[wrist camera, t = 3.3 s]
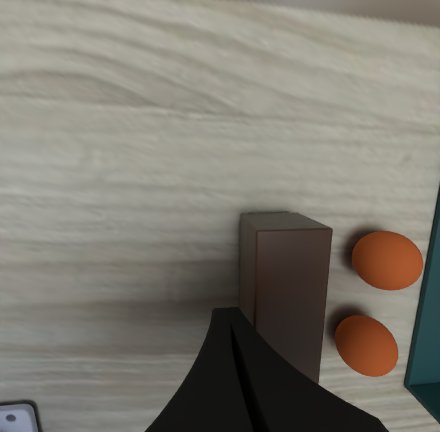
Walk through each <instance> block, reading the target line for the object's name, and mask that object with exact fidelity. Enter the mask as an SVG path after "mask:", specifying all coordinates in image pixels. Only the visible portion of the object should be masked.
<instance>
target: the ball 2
mask: <svg viewBox="0 0 440 432" xmlns="http://www.w3.org/2000/svg"><path fill="white" fill-rule="evenodd" d="M335 344H336V348H337V350H338V352H339V355H340V356H341V358H342V359H343V360H344V362H345V363H346V364H347V365H348V366H349V367H351V368H352V369H353V370H355V371H357V372H358V373H360V374H363V375H366V376H373V377H377V376H383V375H385V374H387V373H389V372H390V371H391V370H392V369H393V368H394V367H395V365H396V363H397V360H398V348H397V344H396V341H395V339H394V337H393V335H392V334H391V333H390V331H389V330H388V329H387V328H386V327H385V326H384V325H383V324H382V323H380V322H379V321H377V320H375V319H373V318H371V317H367V316H362V315H355V316H350V317H348V318H346V319H344V320H343V321H342V322H341V323H340V324H339V325H338V327H337V329H336V333H335Z"/></svg>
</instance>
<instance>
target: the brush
mask: <svg viewBox="0 0 440 432" xmlns="http://www.w3.org/2000/svg"><path fill="white" fill-rule="evenodd" d="M331 241H332V228H330V227H328V226H326V225H324V224H321V223H319V222H317V221H315V220H312V219H310V218H308V217H306V216H304V215H301V214H299V213H289V212H281V213H271V214H256V213H247V214H242V215H241V220H240V239H239V309H240V310H241V311H242V313H243V314H244V315H245V317H246V318H247V319H248V321H249V322H250V323H251V325H252V326H253V327H254V328H255V329H256V331H257V332H258V333H259V334H260V335H261V336H262V337H263V338H264V340H265V341H266V342H267V343H268V344H269V345H270V346H271V347H272V348H273V349H274V350H275V351H276V352H277V353H278V354H279V355H280V356H282V357H283V358H284V359H285V360H286V361H287V362H289V363H290V364H291V365H292V366H293V367H295V368H296V369H297V370H298V371H300V372H301V373H303V374H304V375H305V376H307V377H308V378H309V379H311V380H312V381H314V382H315V383H317V384H318V383H319V372H320V361H321V350H322V339H323V328H324V318H325V307H326V296H327V285H328V274H329V263H330V252H331Z"/></svg>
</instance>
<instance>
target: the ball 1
mask: <svg viewBox="0 0 440 432" xmlns="http://www.w3.org/2000/svg"><path fill="white" fill-rule="evenodd" d="M352 263H353V266H354V269H355V271H356V272H357V274H358V275H359V276H360V277H361V278H362V279H363V280H364V281H365V282H366V283H368V284H370V285H371V286H374V287H376V288H379V289H383V290H400V289H403V288H406V287H408V286H410V285H412V284H413V283H414V282H415V281H416V280H417V279H418V278H419V277H420V275H421V273H422V269H423V258H422V255H421V253H420V251H419V249H418V248H417V246H416V245H415V244H414V243H413V242H412V241H411V240H409V239H408V238H406V237H405V236H403V235H400V234H398V233H394V232H389V231H379V232H374V233H370V234H368V235H366V236H364V237H363V238H361V239H360V240H359V241H358V242H357V244H356V245H355V247H354V249H353V252H352Z"/></svg>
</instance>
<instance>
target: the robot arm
mask: <svg viewBox="0 0 440 432" xmlns="http://www.w3.org/2000/svg"><path fill="white" fill-rule="evenodd" d="M0 432H38V428H37V423H36V418H35V414H34V410H33V407H32V406H30V405H28V404H17V405H5V406H0ZM145 432H389V431H388V430H387V429H386V428H385V426H384V425H383V424H382V423H381V421H380V420H379V419H378V418H376V417H374V416H372V415H370V414H369V413H367V412H365V411H363V410H361V409H359V408H357V407H355V406H353V405H351V404H350V403H348V402H346V401H344V400H342V399H341V398H339V397H337V396H336V395H334V394H332V393H331V392H329V391H327V390H326V389H324V388H323V387H321V386H320V385H318V384H317V383H315V382H314V381H312V380H311V379H309V378H308V377H307V376H305V375H304V374H303V373H301V372H300V371H298V370H297V369H296V368H295V367H293V366H292V365H291V364H290V363H289V362H287V361H286V360H285V359H284V358H283V357H282V356H280V355H279V354H278V353H277V352H276V351H275V350H274V349H273V348H272V347H271V346H270V345H269V344H268V343H267V342H266V341H265V340H264V338H263V337H262V336H261V335H260V334H259V333H258V332H257V331H256V329H255V328H254V327H253V326H252V325H251V323H250V322H249V321H248V319H247V318H246V317H245V315H244V314H243V313H242V311H241V310H240V309H239V308H238V307H230V308H214V309H213V310H212V318H211V322H210V326H209V329H208V332H207V335H206V338H205V340H204V343H203V345H202V347H201V350H200V352H199V354H198V356H197V358H196V360H195V362H194V364H193V366H192V368H191V369H190V371H189V373H188V375H187V376H186V378H185V379H184V381H183V383H182V384H181V386H180V387H179V389H178V390H177V392H176V393H175V395H174V396H173V397H172V399H171V400H170V401H169V403H168V404H167V405H166V407H165V408H164V409H163V410H162V412H161V413H160V414H159V416H158V417H157V418H156V419H155V420H154V422H153V423H152V424H151V425H150V426H149V427H148V428H147V429H146V431H145Z"/></svg>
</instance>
